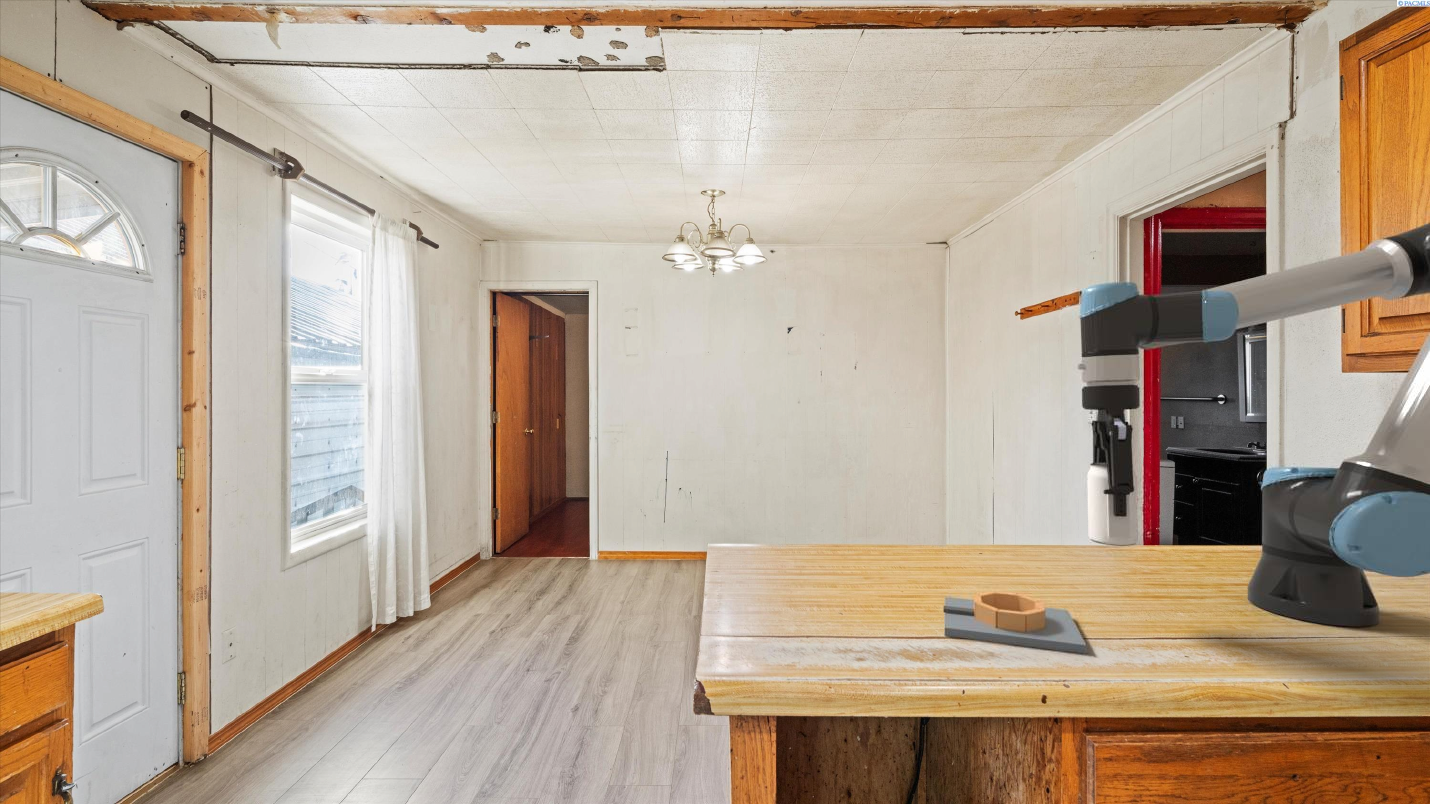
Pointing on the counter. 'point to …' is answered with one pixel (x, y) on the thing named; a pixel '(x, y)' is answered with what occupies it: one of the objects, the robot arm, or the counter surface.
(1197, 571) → the counter surface
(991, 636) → the board
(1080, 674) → the counter surface
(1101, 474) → the can
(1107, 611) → the counter surface
